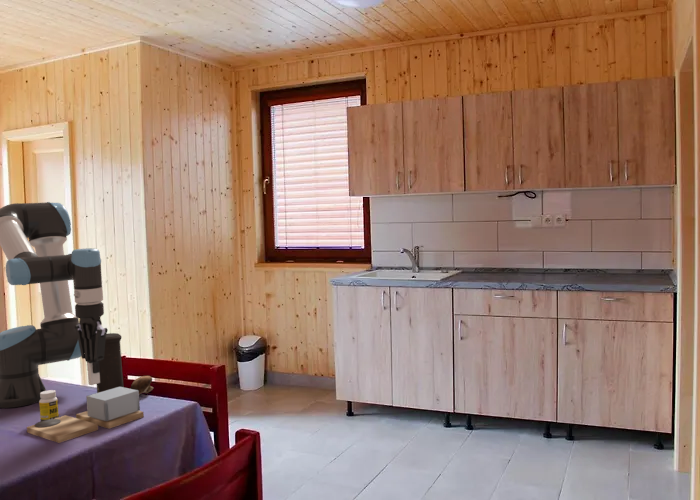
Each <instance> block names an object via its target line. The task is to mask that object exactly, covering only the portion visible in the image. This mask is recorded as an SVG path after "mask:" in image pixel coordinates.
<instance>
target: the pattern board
mask: <svg viewBox="0 0 700 500" xmlns="http://www.w3.org/2000/svg"><path fill="white" fill-rule="evenodd" d="M144 413H145V412H144V410H143V411H141V410H139V411H136V412H133V413H130V414H127V415H124V416H121V417H118V418H115V419H112V420H109V421H104V420H100V419H96V418H93V417H89V416H88V411H87V410H86V411H83V412H79V413H76V414H75V418H77V419H80V420H84V421H88V422H91V423H95V424H98V427H102V428H105V429H109V430H110V429H112V428H116V427H117V426H118V427H119V426H122V425H123V424H126V423H130V422H133V421H136V420H139V419H141V418H144Z"/></svg>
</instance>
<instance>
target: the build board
mask: <svg viewBox="0 0 700 500" xmlns="http://www.w3.org/2000/svg"><path fill="white" fill-rule="evenodd" d="M98 430H99V426H98V424H95V423H91V422H88V421H84V420H80V419H77V418H76V417H73V416H69V415H62V416H59V417H58V418H55V419H48V420H44V421H41V420H40V421H38V422H36V423H34V424H33V425H29V426H26V432H27V433H28V434H30V435H33V436H37V437H39V438H43V439H45V440H49V441H52V442H55V443H58V444H60V443H63V442H66V441H69V440H72V439H76V438H78V437H81V436H84V435H87V434H90V433H92V432H93V433H94V432H95V431H96V432H97V431H98Z"/></svg>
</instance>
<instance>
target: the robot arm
mask: <svg viewBox="0 0 700 500" xmlns="http://www.w3.org/2000/svg"><path fill="white" fill-rule="evenodd" d="M71 223H72V222H71V217H70V215H69V212H68V210H67V208H66V207H65V206H64V204H62V203H61V202H50V201H47V202H26V203H25V202H23V203H18V202H16V203H11V204H10V203H9V204H6V205H4V206H2V207H0V248H1V249H2V252H3V253H4V255H5V257H6V258H7V261H6V263H5V275H6V279H7V282H8V284H9V285H11V286H27V285H35V284H39V287H40V293H41V301H42V302H41V303H42V309H43V315H44V317H43V319H42V320H41V322H39V325H40V328H37V329H36V326H35V325H32V324H27V325H24V326H23V325H22V326H17V327H12V328H9V329H6V330H3V331H1V332H0V408H1V409H10V408H17V407H19V408H20V407H24V406H29V405H32V404H37V403H39V401H40V399H41V398H40V393H41V392H43V391H47V389H46V387H45V385H44V383H43V380H42V379H41V375H40V373H39V366H40V365H48V364H53V363H59V362H64V361H70V360H74V359H79V358H81V359H83V360H85V362H86V367H87V369H86V370H87V381H88V385H89V386H94V385H97V384H98V383H100V373H99V371H100V369H99V361H100V360H103V359H104V352H105V340H106V334H108V327H103V324H102V320H101V317H102V316H103V315H104V314H105V309H104V303H103V302H102V301H103V300H104V294H103V293H104V291H103V280H102V278H103V277H102V276H103V275H102V259H101V254H100V253H101V252H100V250H99V249H98V248H96V247H94V248H90V247H89V248H87V247H86V248H77V249H73V250H72V251H71V253H68V254H65V251H64V244H65V243H66V242H67V241H68V238H67V237H68V236H69V235H71V233H72V232H71V231H72V226H71V225H72V224H71ZM69 281H73V292H74V293H73V297H74V302H75V303H76V304H75V305H74V311H75V312H74V313H75V314H74V313H73V307H72V299H71V295H70V294H71V293H70V287H69V285H70V284H69Z"/></svg>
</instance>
